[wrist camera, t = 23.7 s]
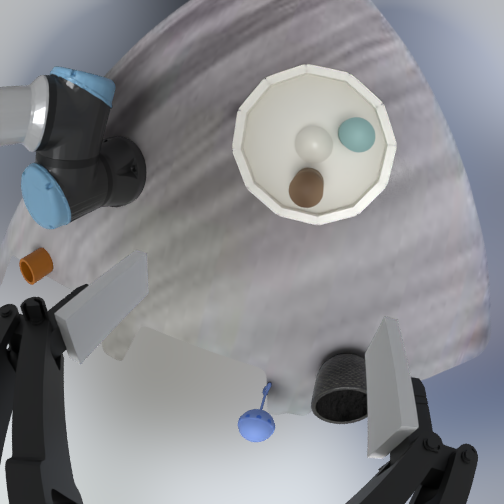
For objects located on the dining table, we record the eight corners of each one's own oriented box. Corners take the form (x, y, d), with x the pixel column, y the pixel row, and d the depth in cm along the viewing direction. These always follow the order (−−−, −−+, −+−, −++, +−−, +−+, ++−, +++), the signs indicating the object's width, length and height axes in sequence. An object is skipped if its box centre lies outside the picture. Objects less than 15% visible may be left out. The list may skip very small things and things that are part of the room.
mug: (32, 253, 76) (13, 263, 68) (45, 244, 72) (25, 255, 64) (42, 276, 79) (24, 288, 71) (56, 269, 75) (37, 282, 67)
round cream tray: (210, 151, 49) (203, 153, 46) (303, 41, 37) (301, 36, 34) (318, 246, 51) (318, 253, 49) (420, 146, 39) (425, 147, 37)
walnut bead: (291, 193, 48) (285, 203, 41) (296, 164, 45) (292, 170, 39) (320, 200, 47) (319, 211, 41) (326, 171, 44) (326, 178, 38)
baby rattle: (261, 368, 68) (242, 426, 52) (291, 382, 67) (277, 440, 52) (247, 384, 72) (227, 438, 56) (275, 397, 72) (260, 451, 56)
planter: (334, 389, 65) (331, 430, 54) (305, 357, 63) (297, 400, 51) (383, 369, 59) (387, 411, 48) (357, 333, 57) (360, 378, 45)
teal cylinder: (372, 145, 41) (379, 147, 35) (343, 152, 43) (346, 156, 36) (362, 116, 39) (368, 113, 33) (333, 123, 41) (335, 122, 35)
